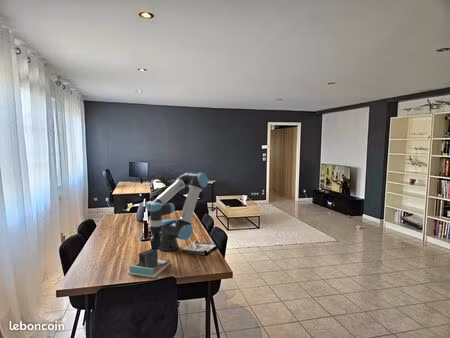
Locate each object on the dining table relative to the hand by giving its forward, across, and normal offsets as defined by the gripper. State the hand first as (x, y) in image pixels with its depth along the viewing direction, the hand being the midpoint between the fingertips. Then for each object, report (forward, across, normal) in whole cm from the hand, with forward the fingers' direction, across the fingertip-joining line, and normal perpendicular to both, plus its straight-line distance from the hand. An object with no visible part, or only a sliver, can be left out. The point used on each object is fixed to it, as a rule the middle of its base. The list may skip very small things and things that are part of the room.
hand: (155, 259), depth 194 cm
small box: (+2, +10, 0) cm, 10 cm away
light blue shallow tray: (+3, +8, 0) cm, 9 cm away
